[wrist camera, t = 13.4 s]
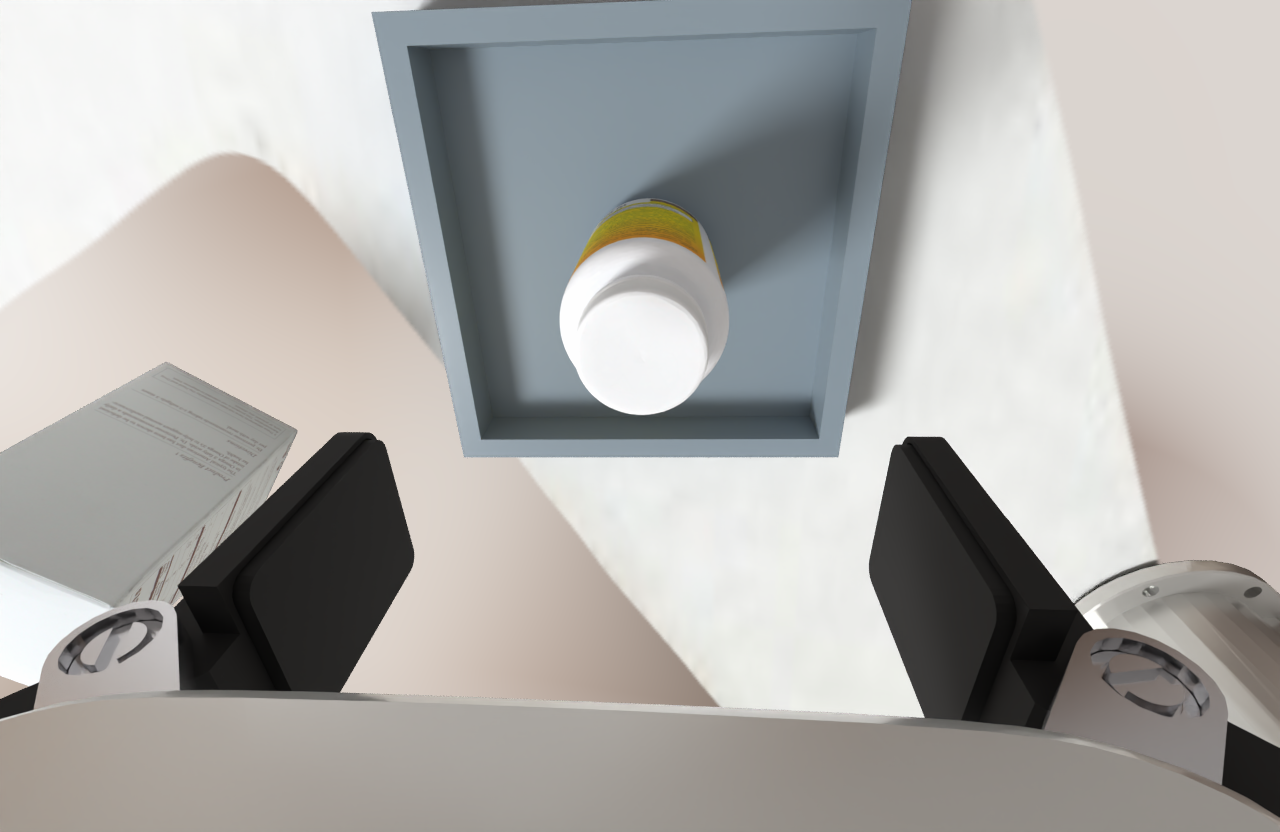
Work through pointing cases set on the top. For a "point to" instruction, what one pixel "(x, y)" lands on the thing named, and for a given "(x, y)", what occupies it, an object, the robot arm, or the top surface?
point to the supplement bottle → (645, 308)
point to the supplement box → (124, 504)
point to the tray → (637, 169)
